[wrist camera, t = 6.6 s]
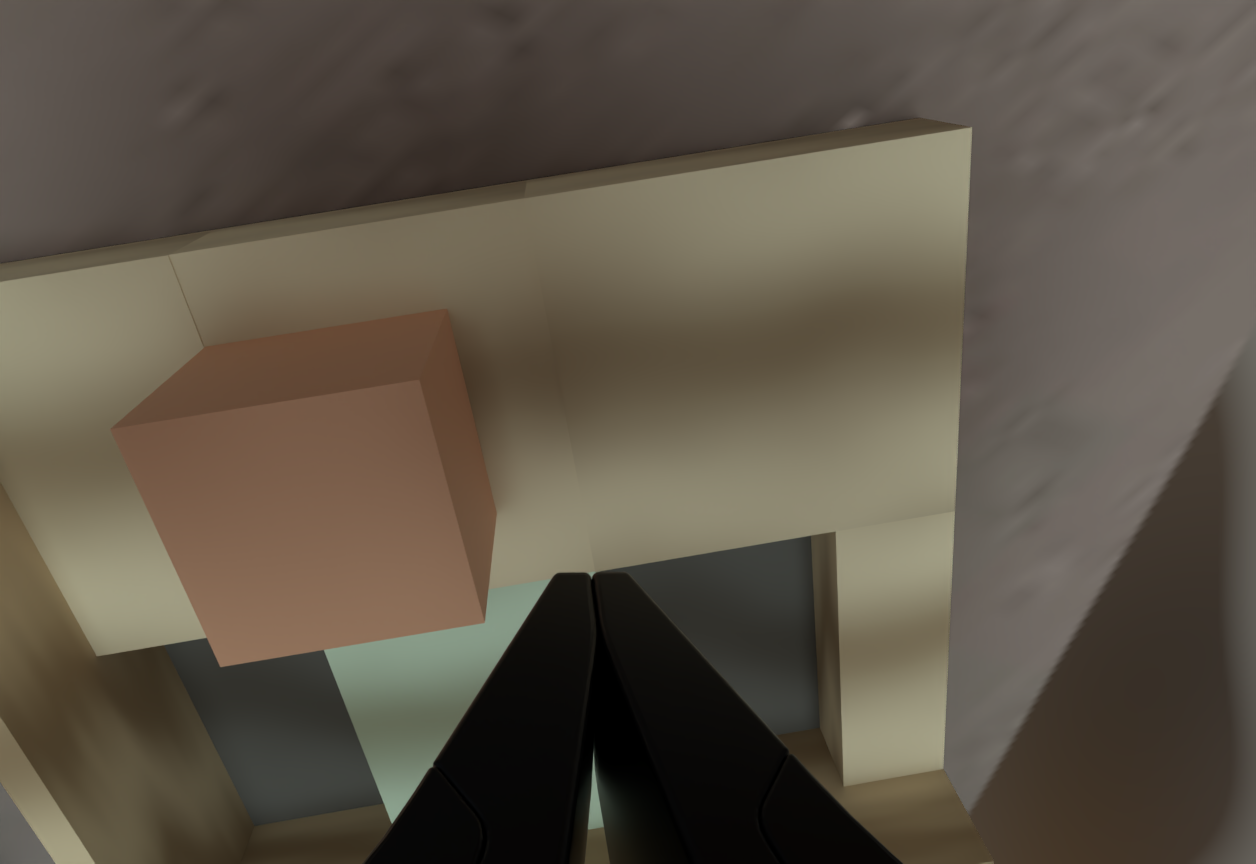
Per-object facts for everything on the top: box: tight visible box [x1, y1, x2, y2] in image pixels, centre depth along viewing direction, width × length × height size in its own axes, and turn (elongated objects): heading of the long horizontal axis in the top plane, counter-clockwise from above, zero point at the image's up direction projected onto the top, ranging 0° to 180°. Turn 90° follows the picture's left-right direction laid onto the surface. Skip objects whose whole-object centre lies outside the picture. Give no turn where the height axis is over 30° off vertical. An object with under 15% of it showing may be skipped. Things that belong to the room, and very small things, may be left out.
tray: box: [0, 118, 994, 864], centre depth 20 cm, size 19×22×6 cm
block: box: [110, 309, 497, 667], centre depth 16 cm, size 5×5×4 cm
